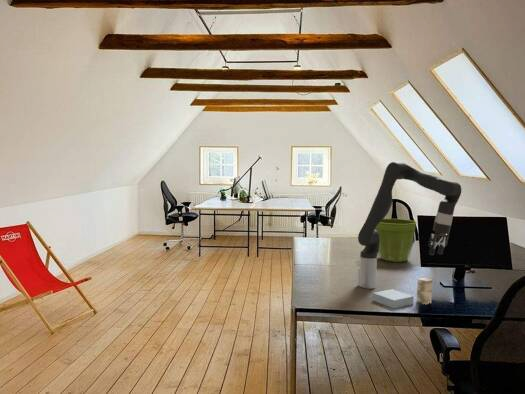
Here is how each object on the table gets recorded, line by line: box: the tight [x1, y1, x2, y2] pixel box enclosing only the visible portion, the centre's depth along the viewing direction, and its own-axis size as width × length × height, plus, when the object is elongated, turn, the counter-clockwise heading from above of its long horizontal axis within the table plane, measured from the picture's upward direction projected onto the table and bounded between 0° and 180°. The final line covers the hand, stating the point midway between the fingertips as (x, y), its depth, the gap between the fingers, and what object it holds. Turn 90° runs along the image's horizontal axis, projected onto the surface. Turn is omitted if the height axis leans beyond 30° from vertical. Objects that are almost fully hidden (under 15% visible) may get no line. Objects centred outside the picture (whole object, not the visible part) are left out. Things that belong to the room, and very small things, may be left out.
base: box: [372, 288, 414, 309], centre depth 223 cm, size 14×14×4 cm
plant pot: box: [375, 218, 417, 263], centre depth 322 cm, size 30×30×29 cm
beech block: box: [416, 277, 433, 305], centre depth 223 cm, size 5×5×12 cm
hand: (435, 254), depth 212 cm, fingers open, 8 cm apart
